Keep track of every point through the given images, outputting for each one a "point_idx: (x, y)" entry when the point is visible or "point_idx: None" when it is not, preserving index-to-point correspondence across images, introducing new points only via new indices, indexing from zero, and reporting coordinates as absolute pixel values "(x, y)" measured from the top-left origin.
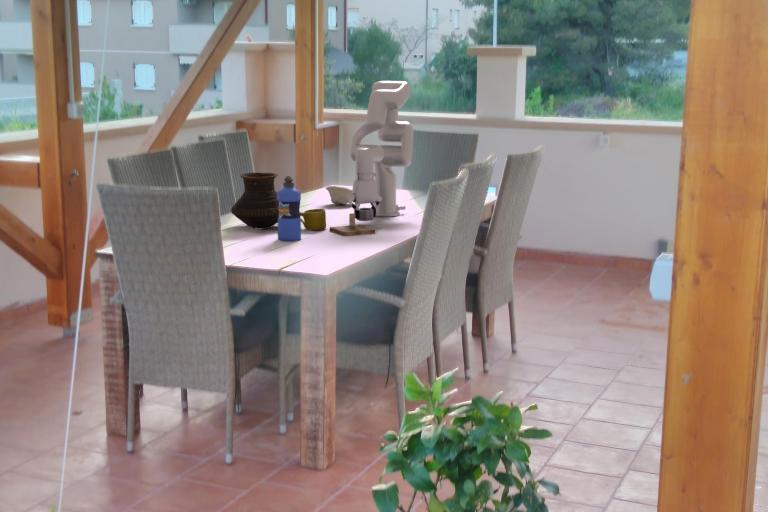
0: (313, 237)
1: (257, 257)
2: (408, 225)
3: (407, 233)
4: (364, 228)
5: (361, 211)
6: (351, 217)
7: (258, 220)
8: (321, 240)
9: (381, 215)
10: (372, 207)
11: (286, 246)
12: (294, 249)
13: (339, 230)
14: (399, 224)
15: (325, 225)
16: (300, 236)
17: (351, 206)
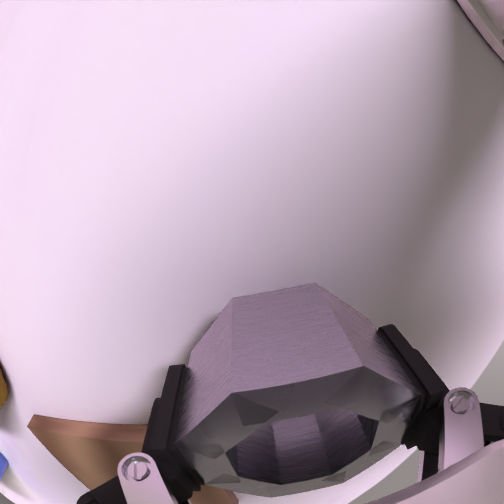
0: (23, 461)
1: (10, 493)
2: (472, 370)
3: (349, 496)
4: (196, 499)
5: (226, 482)
6: None
7: None
8: (56, 491)
9: (486, 34)
10: (421, 425)
11: (11, 480)
12: (34, 499)
13: (85, 485)
14: (467, 341)
15: (2, 402)
16: (5, 468)
17: (96, 495)
